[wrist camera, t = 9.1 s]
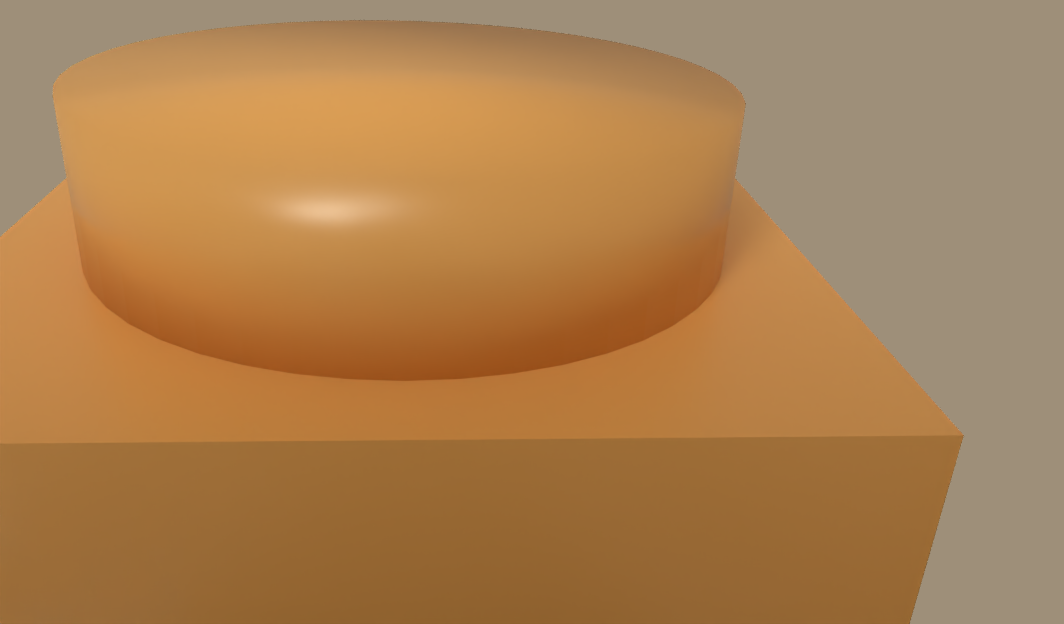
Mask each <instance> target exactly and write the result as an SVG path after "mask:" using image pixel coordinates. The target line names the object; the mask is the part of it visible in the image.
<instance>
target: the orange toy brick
mask: <svg viewBox="0 0 1064 624" xmlns="http://www.w3.org/2000/svg"><path fill="white" fill-rule="evenodd" d="M53 100H54V106H55V112H56V118H57V124H58V129H59V135H60V141H61V147H62V153H63V159H64V165H65V171H66V176H67V178H66V179H65V180H64V181H62V182H61V183H60V184H59V185H58V186H57V187H56V188H55V189H53V190H52V191H51V192H50V193H49V194H48V195H47V196H46V197H45V198H43V199H42V200H41V201H40V202H39V203H38V204H37V205H36V206H34V207H33V208H32V209H31V210H30V211H29V212H28V213H27V214H25V215H24V216H23V217H22V218H21V219H20V220H19V221H18V222H16V223H15V224H14V225H13V226H12V227H11V228H10V229H9V230H7V231H6V232H5V233H4V234H3V235H2V236H1V237H0V624H910V620H911V617H912V613H913V609H914V606H915V603H916V599H917V596H918V592H919V589H920V585H921V582H922V578H923V575H924V571H925V568H926V565H927V561H928V558H929V554H930V551H931V547H932V543H933V540H934V536H935V533H936V530H937V526H938V523H939V519H940V516H941V512H942V508H943V505H944V502H945V498H946V495H947V491H948V487H949V485H950V481H951V478H952V474H953V471H954V467H955V464H956V460H957V457H958V453H959V449H960V446H961V443H962V439H963V436H964V435H963V434H962V433H961V432H960V431H959V430H958V429H957V427H956V426H955V425H954V424H953V423H952V422H951V421H950V419H949V418H948V417H947V416H946V415H945V414H944V413H943V412H942V410H941V409H940V408H939V407H938V406H937V405H936V404H935V403H934V401H933V400H932V399H931V398H930V397H929V396H928V395H927V394H926V393H925V391H924V390H923V389H922V388H921V387H920V386H919V385H918V383H917V382H916V381H915V380H914V379H913V378H912V377H911V376H910V375H909V373H908V372H907V371H906V370H905V369H904V368H903V367H902V365H901V364H900V363H899V362H898V361H897V360H896V359H895V358H894V356H893V355H892V354H891V353H890V352H889V351H888V350H887V349H886V348H885V346H884V345H883V344H882V343H881V342H880V341H879V340H878V338H876V336H875V335H874V334H873V333H872V332H871V331H870V330H869V328H868V327H867V326H866V325H865V324H864V323H863V322H862V321H861V319H860V318H859V317H858V316H857V315H856V314H855V313H854V312H853V310H852V309H851V308H850V307H849V306H848V305H847V304H846V303H845V302H844V300H843V299H842V298H841V297H840V296H839V295H838V294H837V292H836V291H835V290H834V289H833V288H832V287H831V286H830V285H829V283H828V282H827V281H826V280H825V279H824V278H823V277H822V276H821V275H820V273H819V272H818V271H817V270H816V269H815V268H814V267H813V265H812V264H811V263H810V262H809V261H808V260H807V259H806V258H805V256H804V255H803V254H802V253H801V252H800V251H799V250H798V249H797V247H796V246H795V245H794V244H793V243H792V242H791V241H790V240H789V238H788V237H787V236H786V235H785V234H784V233H783V232H782V231H781V229H780V228H779V227H778V226H777V225H776V224H775V223H774V222H773V220H772V219H771V218H770V217H769V216H768V215H767V214H766V213H765V212H764V210H763V209H762V208H761V207H760V206H759V205H758V204H757V202H756V201H755V200H754V199H753V198H752V197H751V196H750V195H749V194H748V192H747V191H746V190H745V189H744V188H743V187H742V186H741V184H740V183H739V182H738V181H737V180H736V179H735V174H736V167H737V160H738V153H739V146H740V139H741V132H742V125H743V119H744V112H745V104H746V103H745V101H744V98H743V96H742V93H741V92H740V91H739V90H738V89H737V88H736V87H735V86H734V85H733V84H732V83H730V82H729V81H727V80H726V79H724V78H723V77H721V76H720V75H718V74H716V73H714V72H712V71H710V70H707V69H705V68H703V67H701V66H698V65H696V64H693V63H690V62H688V61H685V60H682V59H679V58H676V57H673V56H669V55H666V54H663V53H659V52H655V51H652V50H647V49H644V48H639V47H635V46H631V45H626V44H621V43H617V42H612V41H607V40H601V39H595V38H589V37H583V36H577V35H571V34H564V33H556V32H549V31H541V30H532V29H523V28H514V27H503V26H492V25H478V24H464V23H447V22H446V23H445V22H425V21H424V22H423V21H387V20H384V21H383V20H376V21H375V20H349V21H311V22H287V23H273V24H258V25H247V26H237V27H226V28H217V29H210V30H202V31H194V32H188V33H182V34H175V35H169V36H164V37H158V38H154V39H149V40H144V41H139V42H135V43H131V44H128V45H124V46H120V47H117V48H113V49H110V50H107V51H104V52H102V53H99V54H96V55H93V56H91V57H88V58H86V59H84V60H82V61H80V62H79V63H76V64H74V65H72V66H71V67H70V68H68V69H67V70H66V71H64V72H63V73H62V74H60V76H59V77H58V79H57V80H56V82H55V83H54V85H53Z"/></svg>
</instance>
